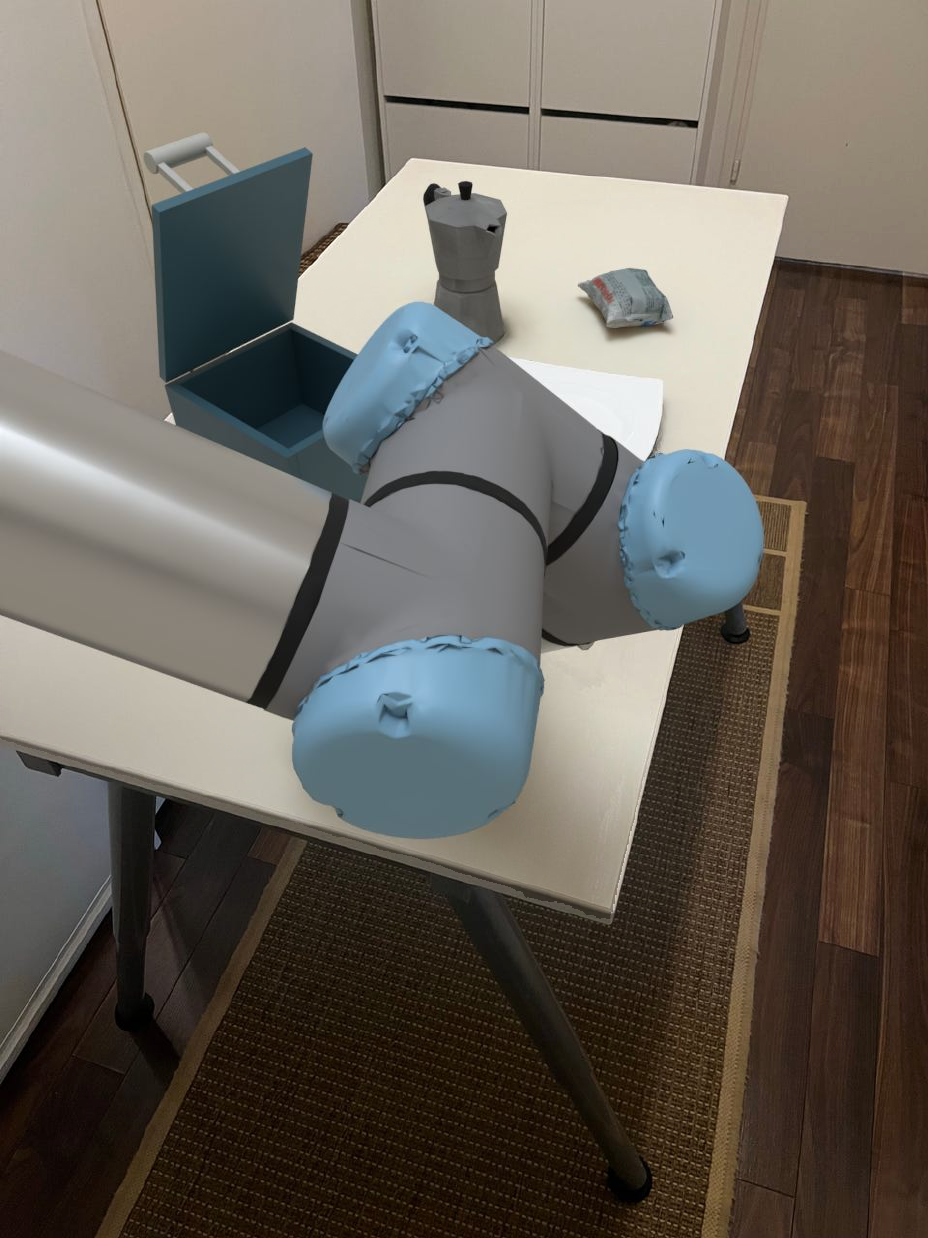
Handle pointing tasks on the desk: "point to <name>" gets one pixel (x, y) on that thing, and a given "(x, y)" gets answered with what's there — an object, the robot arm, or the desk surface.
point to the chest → (272, 405)
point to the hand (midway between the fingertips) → (360, 642)
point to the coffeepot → (467, 255)
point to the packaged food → (628, 298)
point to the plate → (607, 401)
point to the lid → (224, 252)
